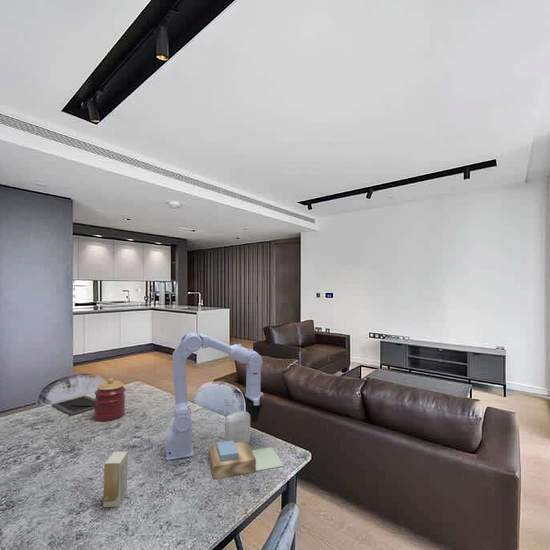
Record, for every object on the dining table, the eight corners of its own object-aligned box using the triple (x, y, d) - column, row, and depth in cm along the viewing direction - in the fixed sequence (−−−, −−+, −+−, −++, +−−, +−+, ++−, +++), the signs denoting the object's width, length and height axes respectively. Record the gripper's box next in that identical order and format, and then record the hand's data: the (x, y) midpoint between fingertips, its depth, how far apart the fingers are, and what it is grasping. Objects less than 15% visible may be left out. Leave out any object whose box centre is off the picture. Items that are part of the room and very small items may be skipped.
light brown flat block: (213, 479, 100) (213, 466, 100) (208, 458, 112) (208, 446, 112) (255, 471, 104) (255, 459, 104) (246, 452, 117) (246, 441, 117)
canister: (130, 414, 149) (131, 377, 150) (103, 424, 138) (104, 384, 139) (115, 408, 156) (116, 372, 157) (88, 417, 145) (89, 379, 146)
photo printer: (246, 438, 127) (246, 407, 127) (251, 443, 123) (252, 411, 124) (222, 445, 121) (223, 413, 122) (227, 450, 117) (228, 417, 118)
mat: (255, 471, 104) (255, 470, 104) (246, 452, 117) (246, 451, 117) (283, 466, 107) (283, 465, 108) (272, 447, 120) (272, 447, 120)
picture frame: (105, 406, 160) (85, 398, 171) (105, 402, 160) (85, 394, 171) (71, 417, 146) (51, 407, 158) (71, 413, 146) (51, 403, 158)
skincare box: (112, 493, 92) (113, 451, 93) (127, 492, 93) (128, 450, 93) (102, 508, 86) (103, 463, 87) (118, 507, 86) (119, 462, 87)
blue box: (220, 461, 103) (220, 455, 103) (216, 448, 111) (216, 442, 111) (238, 458, 105) (238, 452, 105) (233, 445, 113) (233, 440, 113)
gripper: (267, 387, 118) (266, 424, 118) (259, 376, 132) (258, 409, 132) (249, 388, 116) (248, 426, 116) (242, 377, 130) (242, 411, 130)
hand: (252, 417), depth 124 cm, fingers open, 7 cm apart
